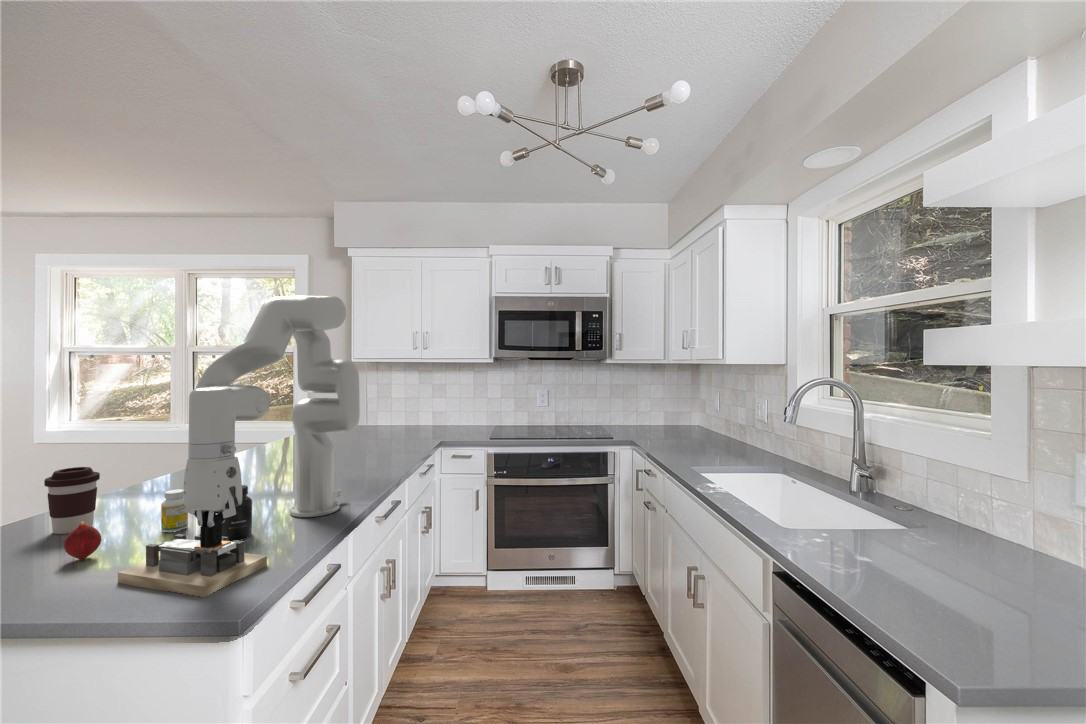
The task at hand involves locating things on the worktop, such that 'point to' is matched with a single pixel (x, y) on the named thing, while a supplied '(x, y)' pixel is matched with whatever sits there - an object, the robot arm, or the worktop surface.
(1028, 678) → the worktop surface
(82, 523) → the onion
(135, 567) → the heatsink base
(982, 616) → the worktop surface
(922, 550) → the worktop surface
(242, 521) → the supplement bottle
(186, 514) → the supplement bottle
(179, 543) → the strap
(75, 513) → the coffee cup
